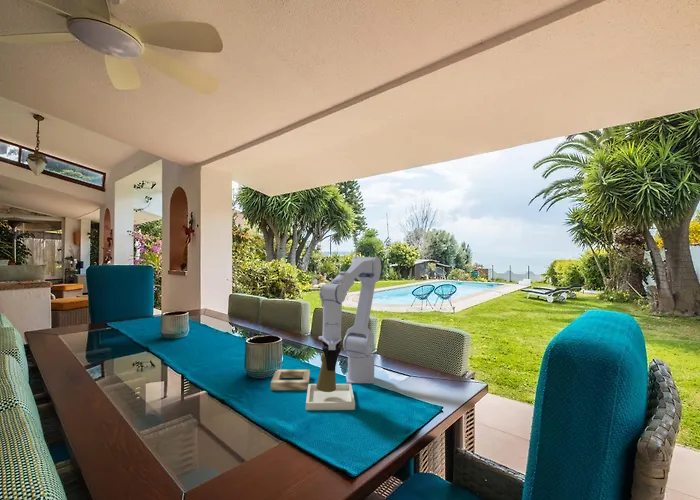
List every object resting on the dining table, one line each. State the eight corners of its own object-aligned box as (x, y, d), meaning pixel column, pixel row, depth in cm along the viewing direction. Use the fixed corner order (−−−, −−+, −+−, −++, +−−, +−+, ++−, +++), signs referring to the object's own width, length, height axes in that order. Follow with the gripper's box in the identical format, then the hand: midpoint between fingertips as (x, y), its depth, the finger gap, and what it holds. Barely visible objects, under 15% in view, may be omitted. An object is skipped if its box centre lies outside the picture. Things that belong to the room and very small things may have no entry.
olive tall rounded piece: (331, 393, 99) (335, 356, 99) (312, 388, 101) (316, 352, 101) (338, 387, 105) (342, 351, 105) (321, 382, 107) (325, 347, 107)
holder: (309, 376, 121) (310, 369, 121) (308, 390, 109) (308, 382, 109) (276, 376, 120) (276, 369, 120) (270, 390, 108) (270, 382, 108)
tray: (351, 389, 110) (351, 383, 110) (354, 409, 96) (355, 402, 96) (308, 390, 109) (308, 383, 109) (305, 410, 95) (305, 403, 95)
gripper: (319, 317, 110) (318, 359, 110) (318, 327, 96) (317, 375, 95) (340, 318, 111) (339, 359, 110) (343, 327, 96) (342, 375, 96)
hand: (330, 367), depth 103 cm, fingers closed on olive tall rounded piece, 5 cm apart
